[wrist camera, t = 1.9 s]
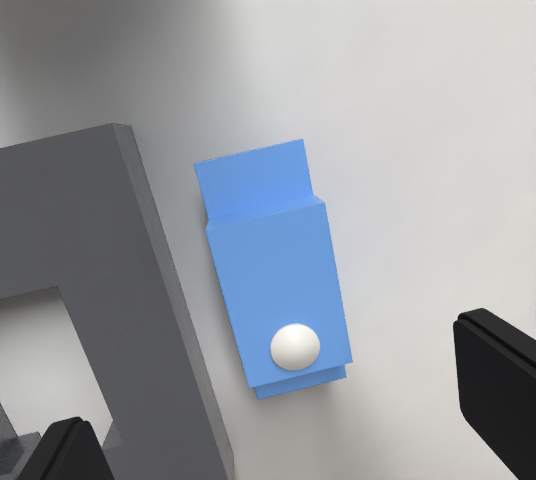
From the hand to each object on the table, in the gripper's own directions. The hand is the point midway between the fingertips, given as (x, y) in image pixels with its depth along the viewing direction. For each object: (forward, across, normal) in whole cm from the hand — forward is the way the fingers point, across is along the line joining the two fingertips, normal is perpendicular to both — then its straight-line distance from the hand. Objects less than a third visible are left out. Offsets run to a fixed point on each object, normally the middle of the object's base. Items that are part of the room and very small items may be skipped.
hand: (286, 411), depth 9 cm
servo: (+11, -1, 0) cm, 11 cm away
